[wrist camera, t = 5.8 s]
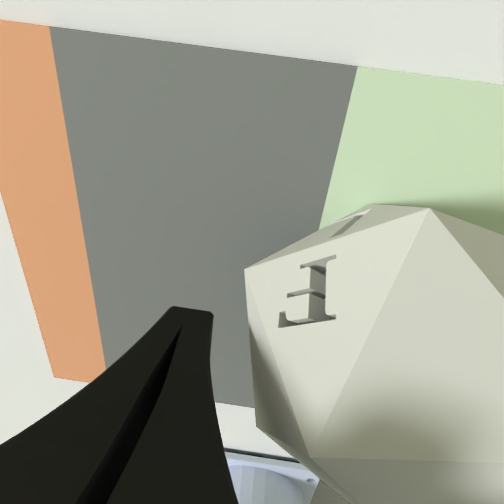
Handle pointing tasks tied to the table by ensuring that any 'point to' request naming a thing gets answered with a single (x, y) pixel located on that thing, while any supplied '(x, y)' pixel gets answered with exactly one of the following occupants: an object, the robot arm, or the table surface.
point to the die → (385, 356)
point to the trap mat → (209, 176)
